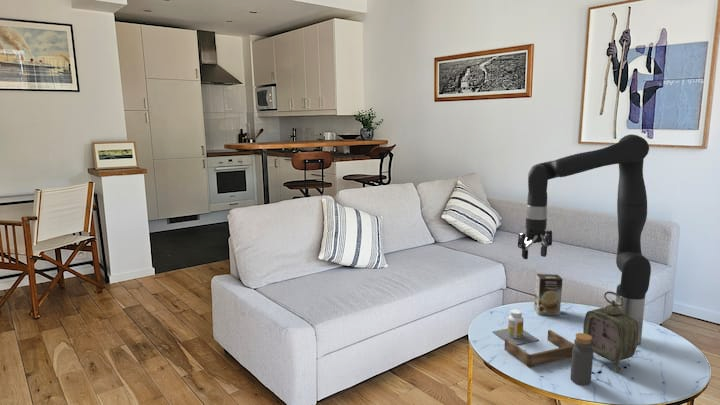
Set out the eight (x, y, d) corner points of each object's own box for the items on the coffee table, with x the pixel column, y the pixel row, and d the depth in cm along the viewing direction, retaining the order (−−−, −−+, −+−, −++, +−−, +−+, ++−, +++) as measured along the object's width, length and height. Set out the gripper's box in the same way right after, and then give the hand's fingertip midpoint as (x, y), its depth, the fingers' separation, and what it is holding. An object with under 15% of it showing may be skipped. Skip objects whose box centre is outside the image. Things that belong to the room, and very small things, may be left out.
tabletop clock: (581, 355, 161) (586, 287, 157) (599, 350, 165) (605, 283, 160) (618, 376, 148) (625, 302, 144) (638, 369, 152) (645, 297, 147)
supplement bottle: (522, 333, 178) (523, 309, 176) (522, 339, 173) (523, 315, 171) (507, 331, 180) (508, 307, 178) (507, 337, 175) (508, 313, 173)
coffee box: (537, 315, 194) (539, 278, 191) (533, 309, 200) (535, 273, 198) (560, 315, 193) (562, 279, 190) (555, 309, 200) (557, 274, 197)
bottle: (566, 375, 149) (569, 332, 146) (584, 374, 150) (587, 331, 147) (576, 386, 143) (580, 341, 141) (594, 385, 144) (598, 340, 141)
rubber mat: (492, 332, 180) (492, 331, 180) (518, 327, 184) (518, 326, 184) (512, 346, 169) (512, 345, 169) (538, 340, 173) (539, 339, 173)
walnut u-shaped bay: (504, 349, 166) (504, 339, 166) (549, 339, 173) (550, 329, 172) (528, 367, 154) (529, 356, 154) (576, 356, 161) (577, 345, 160)
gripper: (527, 220, 171) (525, 262, 174) (558, 217, 176) (556, 258, 179) (514, 216, 178) (512, 257, 181) (544, 213, 183) (542, 252, 186)
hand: (534, 257), depth 180 cm, fingers open, 8 cm apart
